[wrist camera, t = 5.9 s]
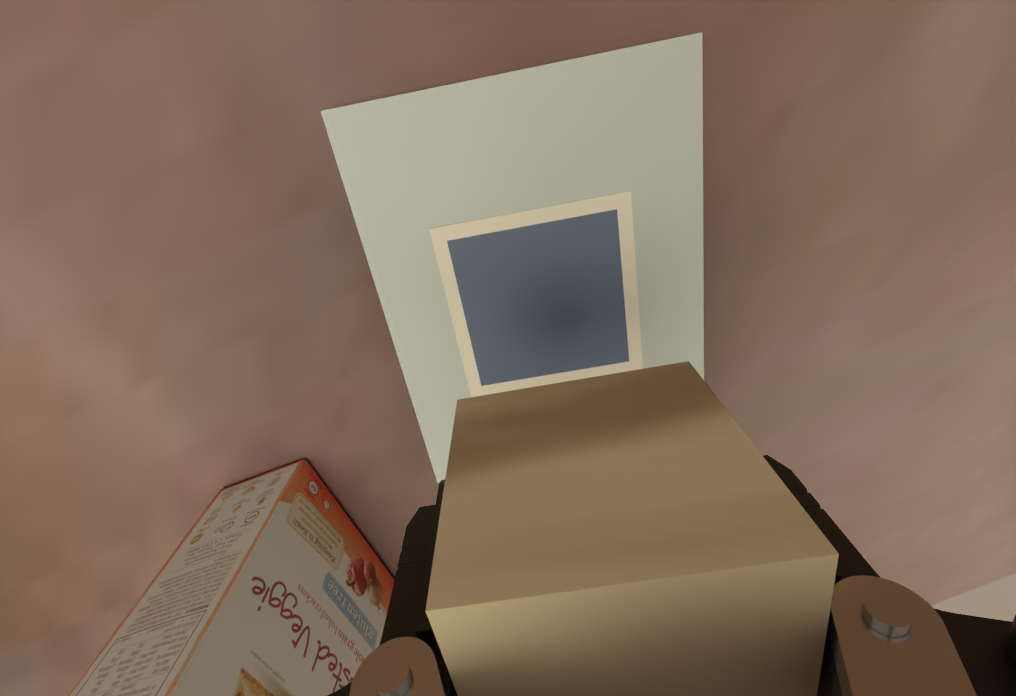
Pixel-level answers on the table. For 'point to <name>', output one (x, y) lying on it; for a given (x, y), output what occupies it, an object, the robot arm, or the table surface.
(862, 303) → the table surface
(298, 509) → the cracker box
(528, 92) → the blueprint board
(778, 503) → the birch block
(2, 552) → the table surface
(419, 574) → the robot arm
